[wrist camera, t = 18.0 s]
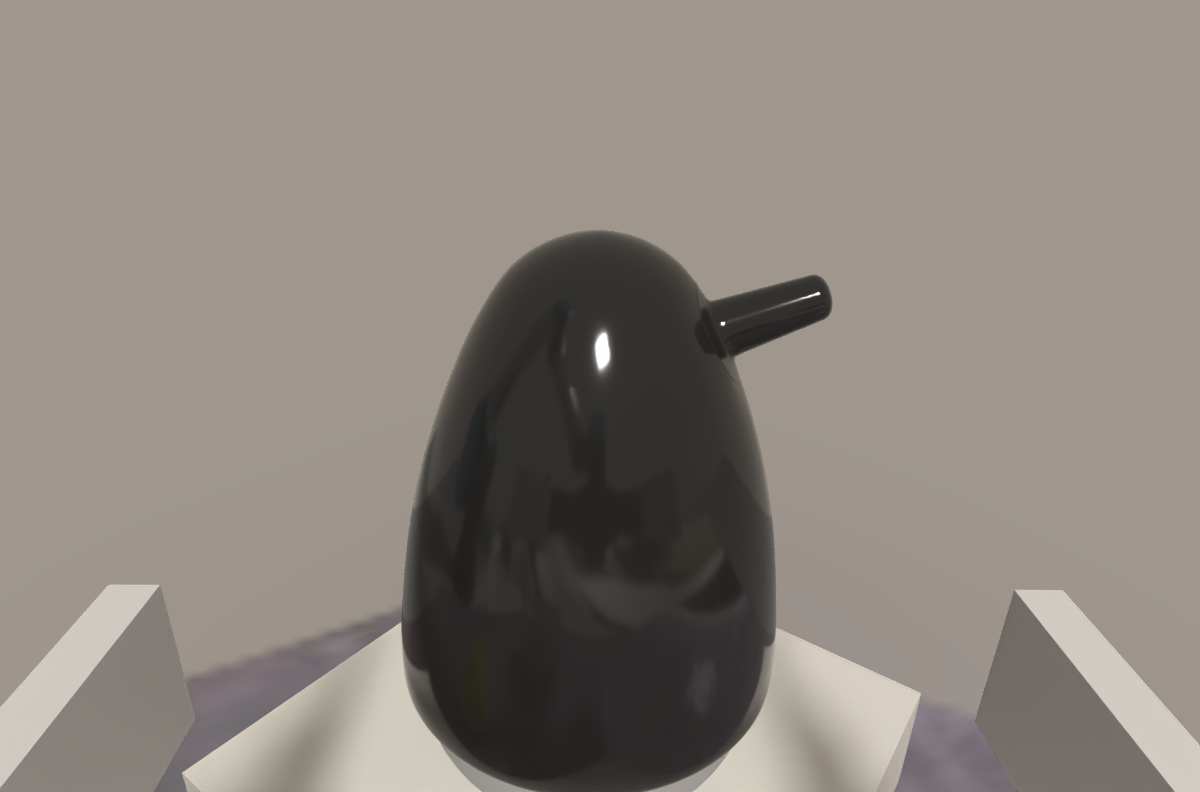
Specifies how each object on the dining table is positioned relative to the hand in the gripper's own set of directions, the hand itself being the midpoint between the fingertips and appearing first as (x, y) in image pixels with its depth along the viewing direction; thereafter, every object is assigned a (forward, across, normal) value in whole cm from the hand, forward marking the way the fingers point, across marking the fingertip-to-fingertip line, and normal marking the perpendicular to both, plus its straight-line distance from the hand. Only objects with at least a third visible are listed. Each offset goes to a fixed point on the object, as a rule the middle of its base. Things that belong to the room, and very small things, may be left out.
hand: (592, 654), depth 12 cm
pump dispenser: (+8, 0, -10) cm, 13 cm away
